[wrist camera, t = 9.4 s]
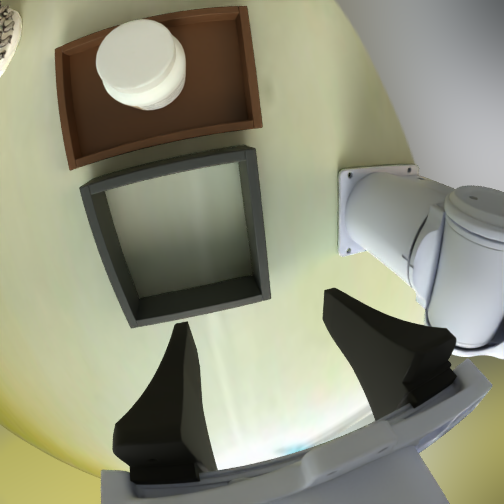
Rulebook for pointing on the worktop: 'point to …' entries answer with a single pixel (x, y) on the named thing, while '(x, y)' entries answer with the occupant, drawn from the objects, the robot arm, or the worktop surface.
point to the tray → (177, 112)
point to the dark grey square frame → (193, 298)
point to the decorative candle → (8, 35)
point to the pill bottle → (142, 64)
